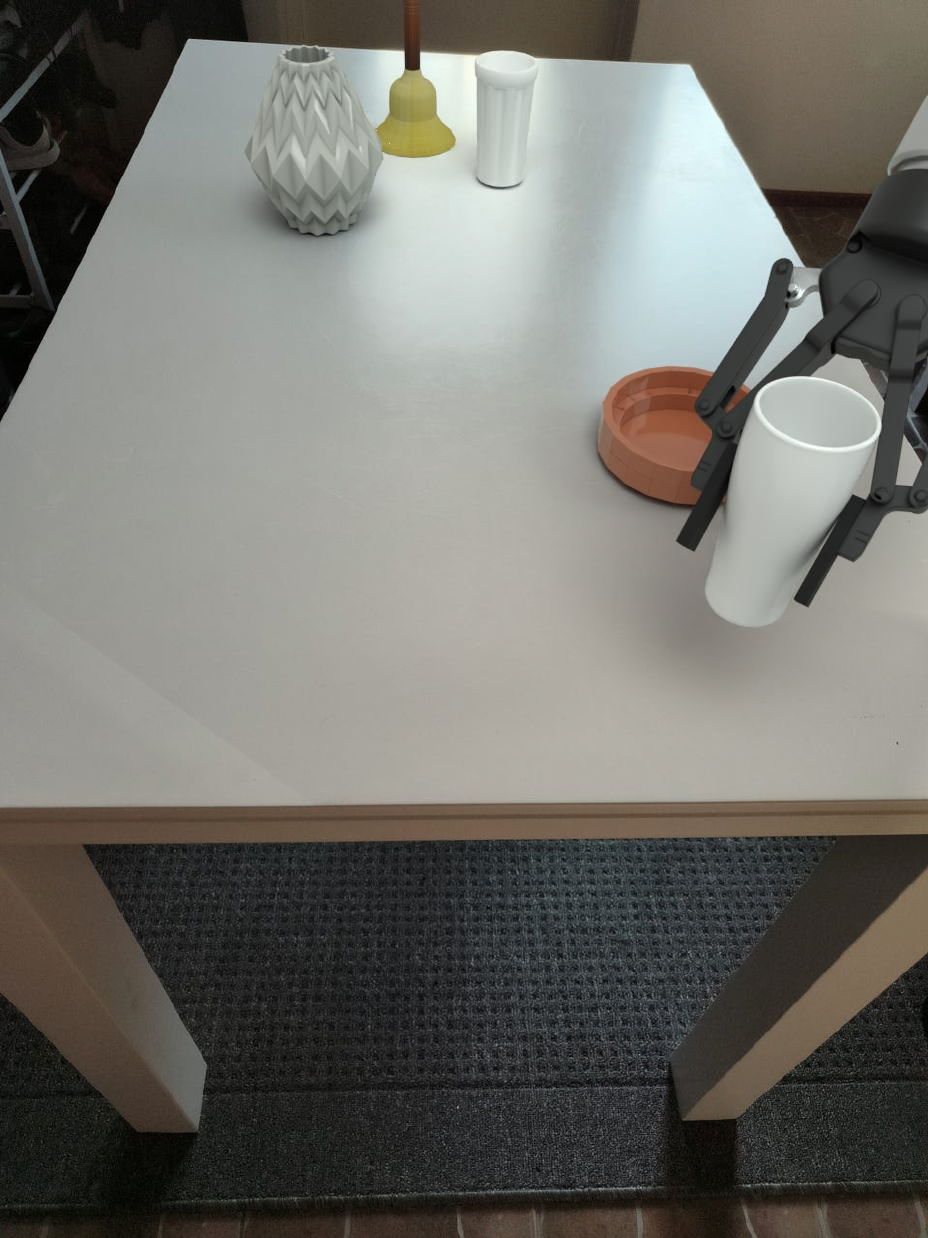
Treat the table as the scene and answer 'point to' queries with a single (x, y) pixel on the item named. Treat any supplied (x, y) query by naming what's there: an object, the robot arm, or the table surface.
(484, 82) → the cup
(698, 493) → the bowl
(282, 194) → the vase
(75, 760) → the table surface
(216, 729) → the table surface
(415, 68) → the handbell
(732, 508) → the drinking glass
